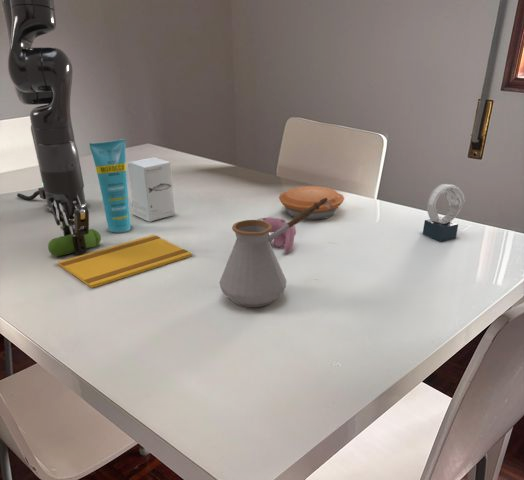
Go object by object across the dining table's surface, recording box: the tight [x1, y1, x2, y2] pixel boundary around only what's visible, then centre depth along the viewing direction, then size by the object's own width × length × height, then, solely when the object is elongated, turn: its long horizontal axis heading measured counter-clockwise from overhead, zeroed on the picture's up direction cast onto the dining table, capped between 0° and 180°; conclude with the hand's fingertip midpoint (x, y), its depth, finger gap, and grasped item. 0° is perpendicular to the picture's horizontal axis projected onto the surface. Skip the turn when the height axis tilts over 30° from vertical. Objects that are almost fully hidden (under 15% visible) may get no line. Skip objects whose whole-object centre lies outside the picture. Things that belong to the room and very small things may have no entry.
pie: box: [278, 185, 345, 221], centre depth 135 cm, size 16×16×5 cm
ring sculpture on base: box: [422, 183, 466, 243], centre depth 119 cm, size 6×8×11 cm
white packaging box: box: [127, 156, 176, 223], centre depth 132 cm, size 7×7×13 cm
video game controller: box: [256, 216, 297, 254], centre depth 116 cm, size 10×5×7 cm, turn 71°
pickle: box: [47, 228, 102, 257], centre depth 116 cm, size 4×11×4 cm, turn 131°
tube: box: [89, 138, 132, 234], centre depth 122 cm, size 7×5×19 cm, turn 123°
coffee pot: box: [219, 198, 332, 308], centre depth 96 cm, size 21×12×15 cm, turn 121°
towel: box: [57, 234, 193, 289], centre depth 112 cm, size 14×22×1 cm, turn 131°
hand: (76, 249), depth 117 cm, fingers closed on pickle, 3 cm apart
